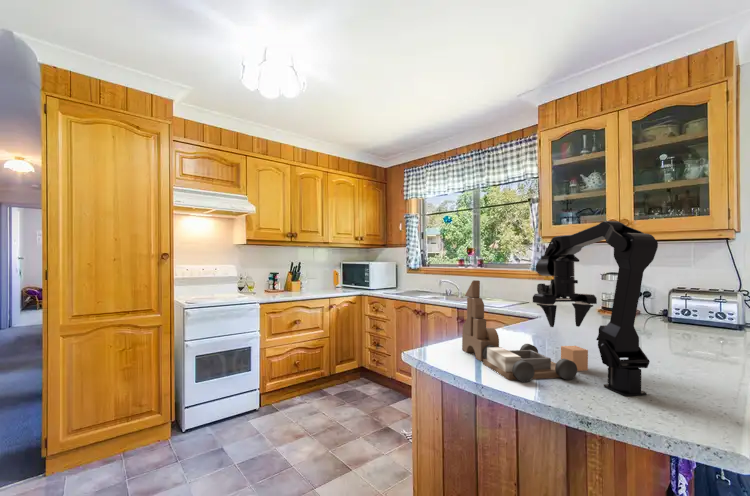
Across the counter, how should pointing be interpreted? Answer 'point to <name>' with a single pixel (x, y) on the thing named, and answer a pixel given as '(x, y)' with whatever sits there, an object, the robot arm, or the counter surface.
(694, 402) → the counter surface
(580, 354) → the orange block
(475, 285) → the wooden toy
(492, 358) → the chassis
